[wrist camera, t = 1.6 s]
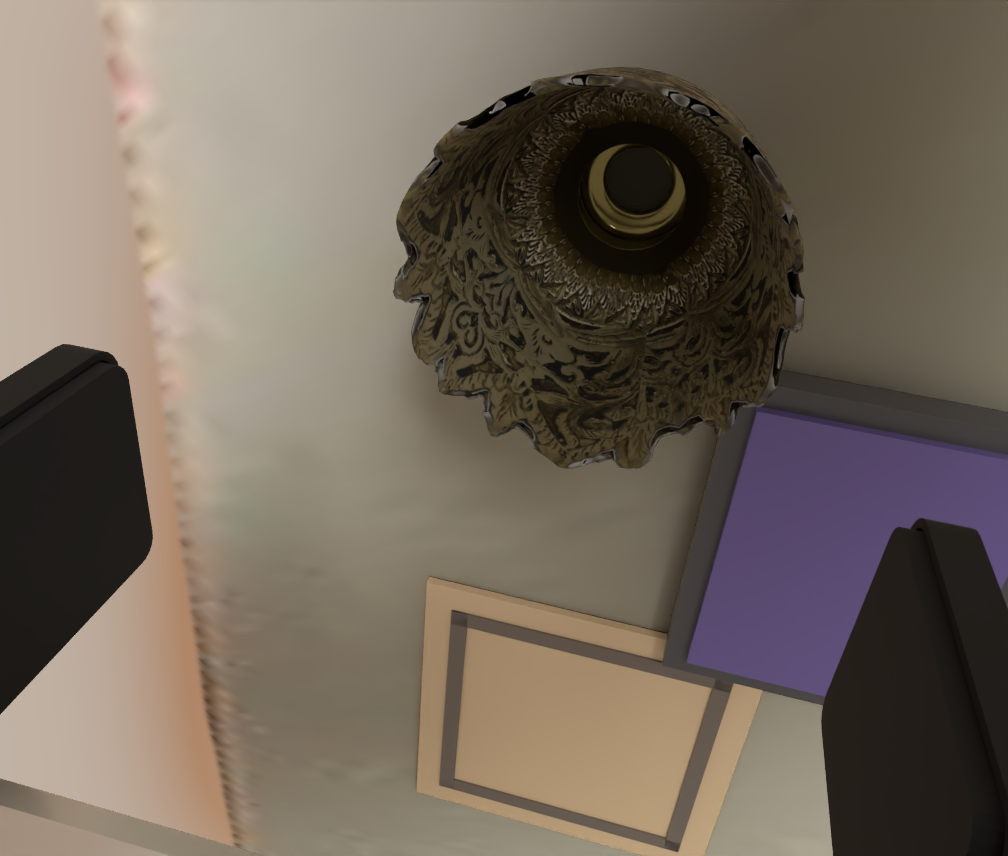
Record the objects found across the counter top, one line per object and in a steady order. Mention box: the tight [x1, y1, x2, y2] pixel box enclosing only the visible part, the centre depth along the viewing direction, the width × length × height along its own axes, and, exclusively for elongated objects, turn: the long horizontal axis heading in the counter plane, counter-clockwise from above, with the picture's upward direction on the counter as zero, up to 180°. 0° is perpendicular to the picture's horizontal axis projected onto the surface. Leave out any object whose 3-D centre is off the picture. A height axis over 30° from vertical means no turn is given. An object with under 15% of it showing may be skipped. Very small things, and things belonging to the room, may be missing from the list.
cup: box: [393, 67, 805, 468], centre depth 19 cm, size 7×7×8 cm
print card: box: [416, 577, 763, 856], centre depth 33 cm, size 12×12×1 cm
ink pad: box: [662, 370, 1008, 705], centre depth 26 cm, size 11×9×1 cm
